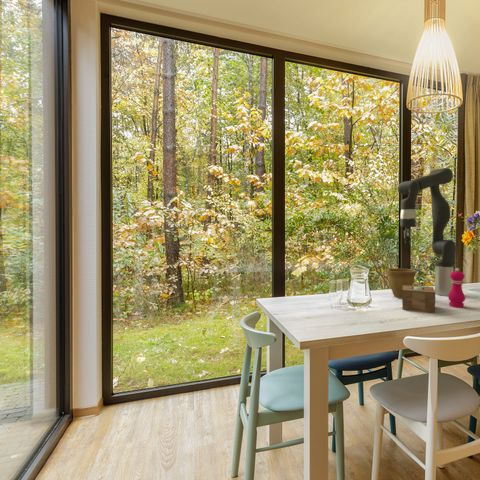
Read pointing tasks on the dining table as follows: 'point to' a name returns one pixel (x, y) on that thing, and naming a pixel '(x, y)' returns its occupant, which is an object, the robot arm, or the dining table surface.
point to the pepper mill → (456, 289)
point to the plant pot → (400, 280)
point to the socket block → (418, 299)
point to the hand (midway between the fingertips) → (407, 249)
